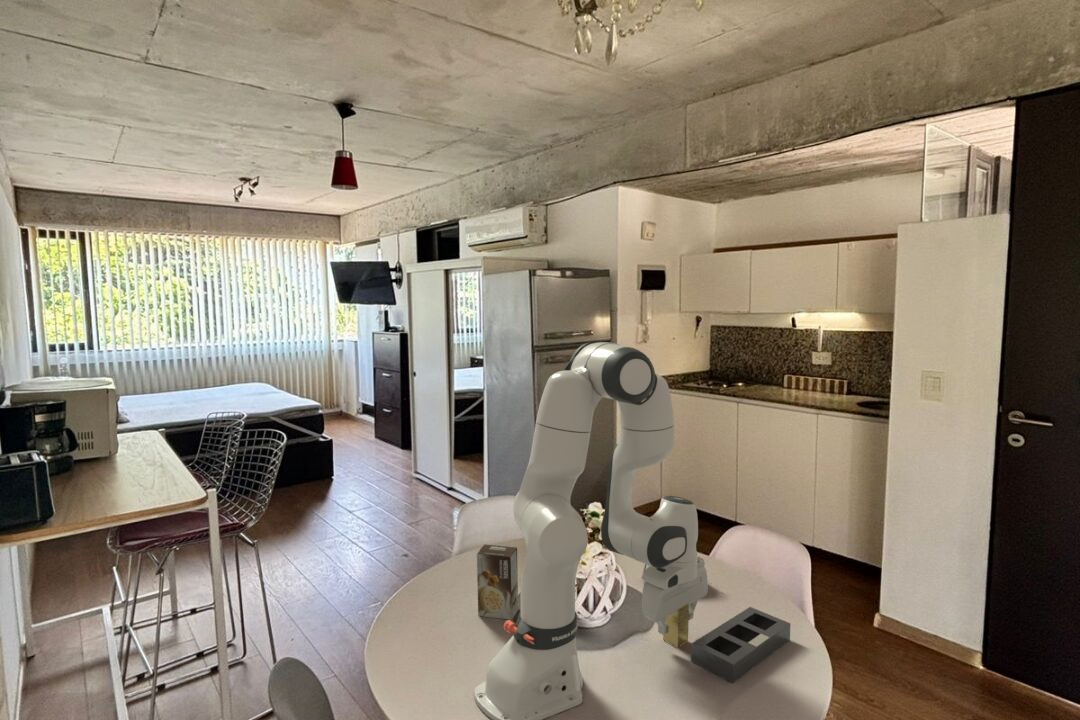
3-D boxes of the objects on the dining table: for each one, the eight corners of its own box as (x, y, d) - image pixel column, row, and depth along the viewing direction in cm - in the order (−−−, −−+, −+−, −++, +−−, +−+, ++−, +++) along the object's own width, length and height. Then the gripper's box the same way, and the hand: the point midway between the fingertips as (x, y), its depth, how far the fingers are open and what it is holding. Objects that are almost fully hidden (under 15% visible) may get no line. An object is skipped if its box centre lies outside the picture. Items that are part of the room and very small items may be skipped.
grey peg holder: (732, 683, 119) (733, 664, 119) (691, 661, 127) (691, 643, 126) (789, 640, 135) (790, 622, 134) (749, 622, 142) (750, 606, 142)
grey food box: (519, 608, 150) (519, 546, 148) (512, 620, 143) (511, 557, 142) (485, 603, 152) (484, 543, 150) (476, 616, 146) (475, 553, 144)
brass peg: (677, 647, 132) (678, 609, 131) (663, 640, 135) (663, 602, 134) (688, 641, 134) (688, 603, 134) (673, 634, 137) (674, 597, 137)
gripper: (692, 550, 142) (691, 605, 143) (637, 575, 129) (636, 635, 130) (715, 558, 137) (714, 615, 139) (660, 585, 124) (659, 647, 125)
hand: (676, 625), depth 134 cm, fingers open, 8 cm apart
